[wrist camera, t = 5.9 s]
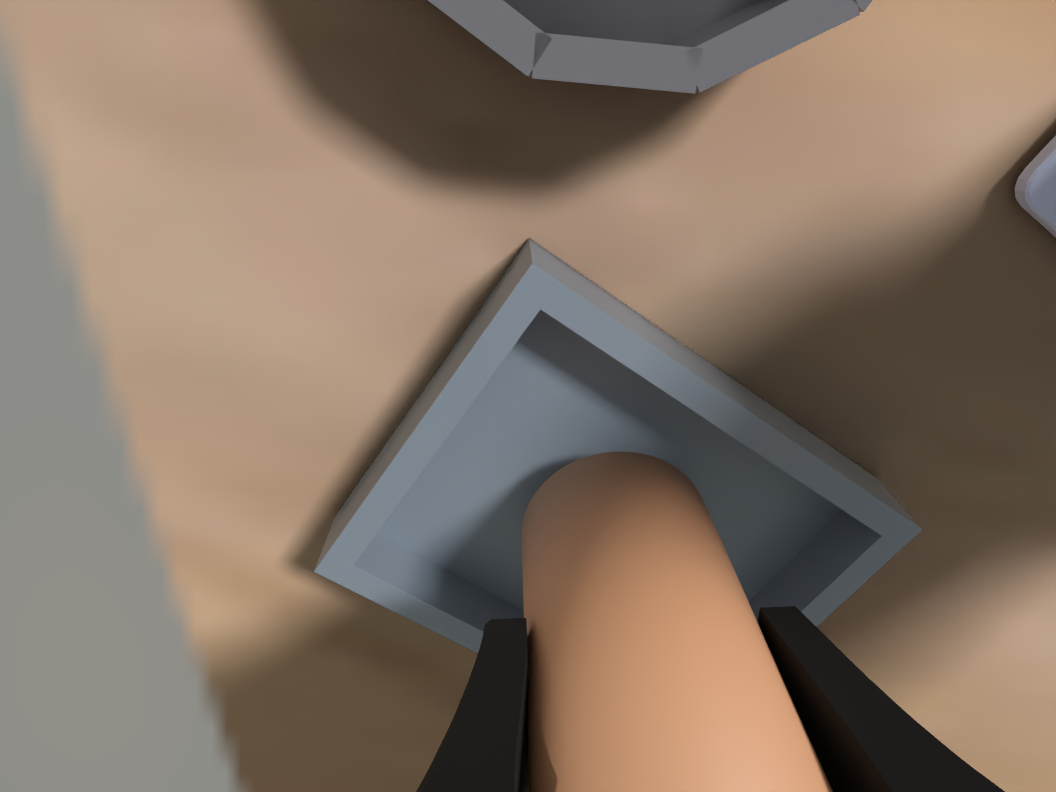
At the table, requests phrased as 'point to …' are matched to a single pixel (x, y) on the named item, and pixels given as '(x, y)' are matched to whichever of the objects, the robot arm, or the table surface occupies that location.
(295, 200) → the table surface
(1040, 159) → the robot arm
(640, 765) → the dowel
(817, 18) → the grey round bowl
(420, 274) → the table surface
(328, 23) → the table surface
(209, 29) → the table surface
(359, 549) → the tray
